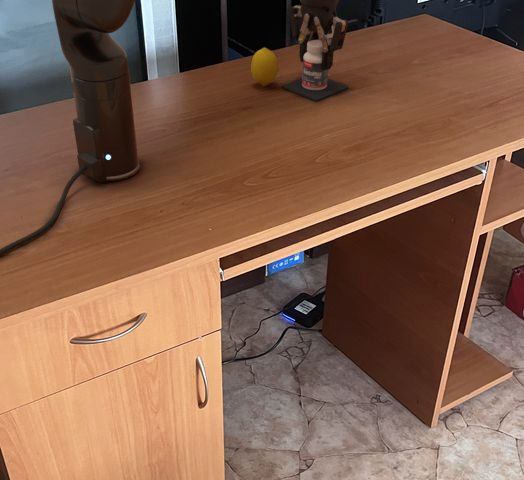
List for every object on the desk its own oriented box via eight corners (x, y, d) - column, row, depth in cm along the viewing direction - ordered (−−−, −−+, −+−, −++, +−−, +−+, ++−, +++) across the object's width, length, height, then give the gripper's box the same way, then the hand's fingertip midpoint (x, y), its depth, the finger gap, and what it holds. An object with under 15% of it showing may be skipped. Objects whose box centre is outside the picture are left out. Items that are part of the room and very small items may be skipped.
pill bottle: (298, 88, 163) (300, 45, 157) (306, 79, 167) (308, 37, 161) (323, 92, 162) (325, 49, 156) (330, 83, 165) (333, 40, 160)
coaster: (316, 101, 159) (316, 99, 159) (281, 87, 164) (281, 85, 164) (348, 88, 164) (348, 86, 164) (313, 75, 170) (313, 73, 170)
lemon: (267, 93, 162) (267, 54, 157) (245, 87, 165) (245, 48, 159) (282, 85, 165) (283, 46, 160) (261, 79, 168) (262, 41, 163)
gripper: (279, -27, 152) (277, 60, 163) (335, -11, 144) (329, 80, 155) (306, -35, 156) (302, 51, 167) (361, -19, 149) (354, 70, 159)
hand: (315, 65), depth 161 cm, fingers closed on pill bottle, 5 cm apart
